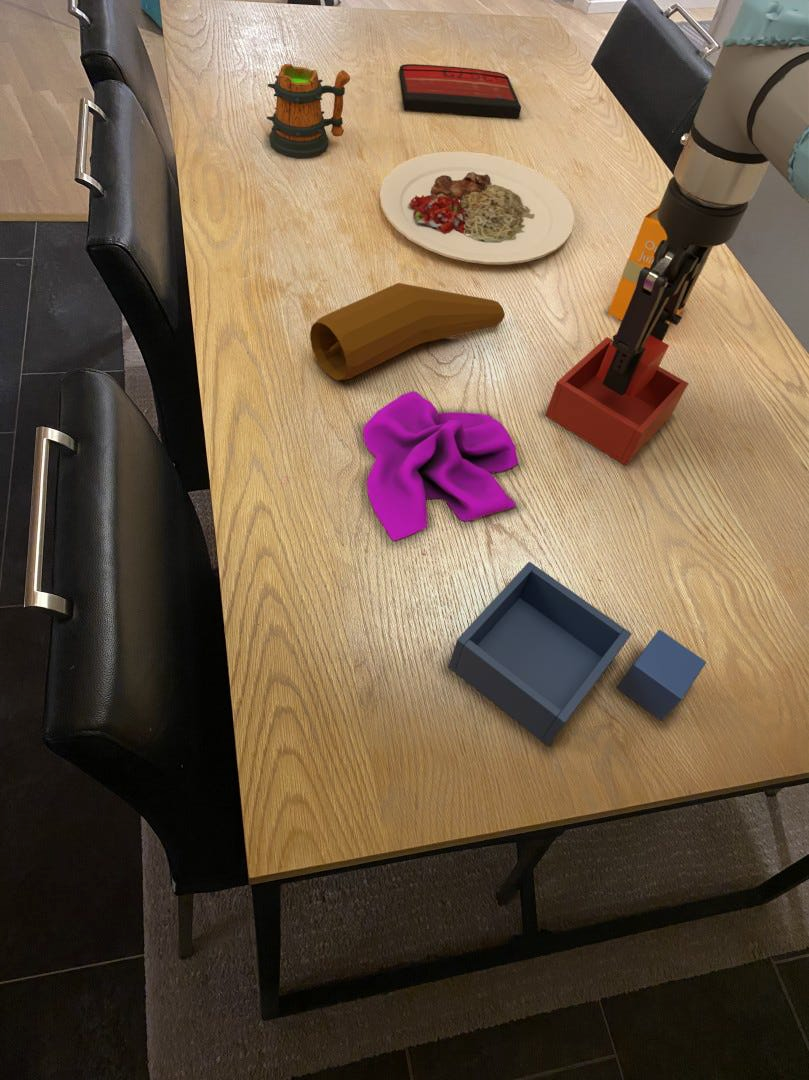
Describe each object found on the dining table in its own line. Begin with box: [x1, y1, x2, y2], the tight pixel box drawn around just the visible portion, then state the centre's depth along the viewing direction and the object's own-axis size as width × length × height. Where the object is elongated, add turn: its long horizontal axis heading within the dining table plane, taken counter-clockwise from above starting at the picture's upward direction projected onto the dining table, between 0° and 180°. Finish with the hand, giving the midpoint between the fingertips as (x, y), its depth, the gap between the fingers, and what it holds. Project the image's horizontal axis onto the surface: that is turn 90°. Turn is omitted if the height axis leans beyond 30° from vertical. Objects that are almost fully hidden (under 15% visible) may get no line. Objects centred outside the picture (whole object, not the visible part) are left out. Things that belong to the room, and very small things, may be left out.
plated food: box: [379, 150, 575, 265], centre depth 116 cm, size 30×30×3 cm
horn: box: [309, 282, 506, 381], centre depth 96 cm, size 8×10×25 cm
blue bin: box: [447, 561, 633, 747], centre depth 71 cm, size 12×12×6 cm
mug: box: [266, 63, 351, 160], centre depth 120 cm, size 13×10×12 cm
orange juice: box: [607, 204, 714, 325], centre depth 99 cm, size 8×9×20 cm
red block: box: [596, 335, 670, 398], centre depth 87 cm, size 5×5×5 cm
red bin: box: [544, 336, 689, 466], centre depth 92 cm, size 12×12×6 cm
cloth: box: [362, 390, 519, 542], centre depth 84 cm, size 22×19×6 cm
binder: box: [398, 63, 522, 119], centre depth 139 cm, size 16×2×21 cm
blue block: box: [616, 629, 707, 721], centre depth 71 cm, size 5×5×5 cm
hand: (626, 376), depth 89 cm, fingers closed on red block, 5 cm apart
